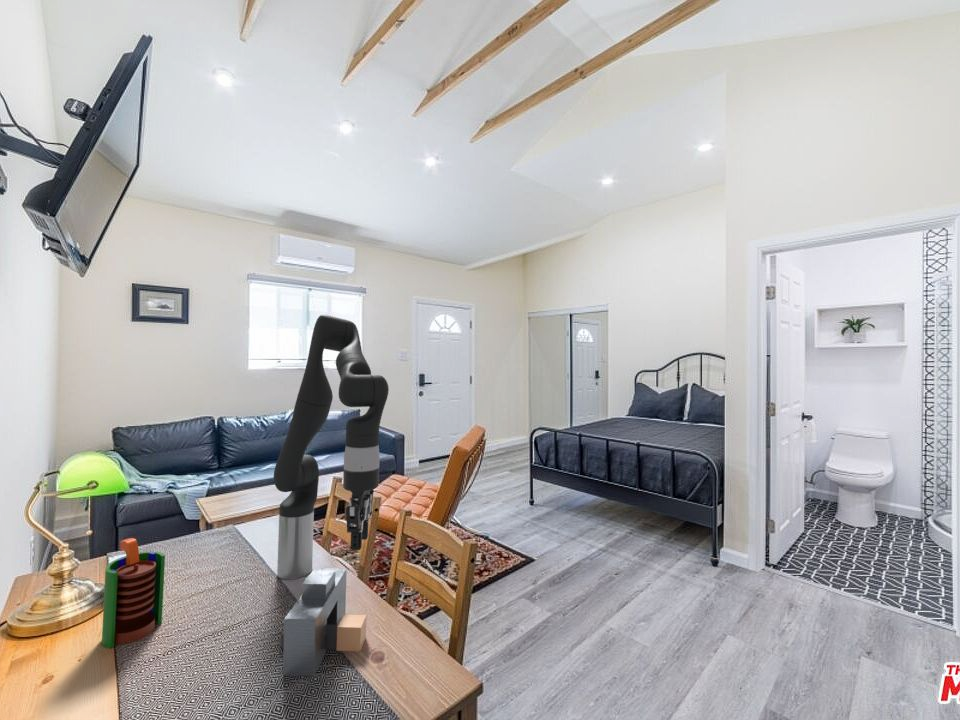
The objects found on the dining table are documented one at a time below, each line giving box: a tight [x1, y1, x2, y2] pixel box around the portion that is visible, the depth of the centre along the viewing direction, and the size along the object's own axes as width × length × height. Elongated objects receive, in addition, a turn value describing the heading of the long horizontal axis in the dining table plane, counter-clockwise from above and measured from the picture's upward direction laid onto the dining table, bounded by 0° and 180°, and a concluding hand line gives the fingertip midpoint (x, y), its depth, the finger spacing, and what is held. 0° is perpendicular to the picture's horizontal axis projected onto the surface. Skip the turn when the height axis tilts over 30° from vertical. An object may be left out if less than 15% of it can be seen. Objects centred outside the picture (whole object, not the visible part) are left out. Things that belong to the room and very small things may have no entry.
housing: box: [282, 567, 348, 677], centre depth 90 cm, size 6×20×14 cm, turn 1°
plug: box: [280, 614, 368, 652], centre depth 90 cm, size 17×4×5 cm, turn 90°
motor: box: [101, 537, 166, 649], centre depth 92 cm, size 10×9×20 cm
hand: (359, 543), depth 91 cm, fingers open, 4 cm apart
